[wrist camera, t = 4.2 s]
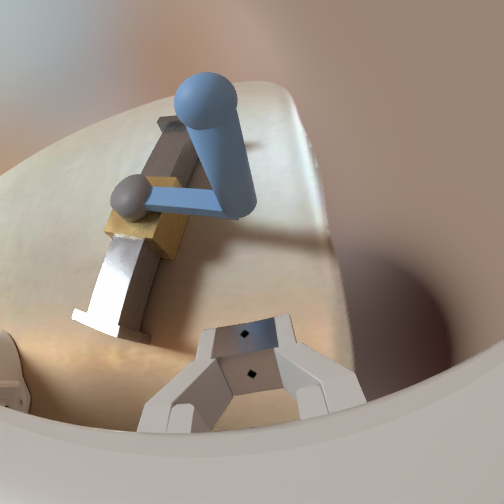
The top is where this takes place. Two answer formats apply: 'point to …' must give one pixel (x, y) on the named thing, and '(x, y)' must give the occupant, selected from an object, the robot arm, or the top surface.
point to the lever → (210, 154)
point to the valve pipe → (141, 242)
